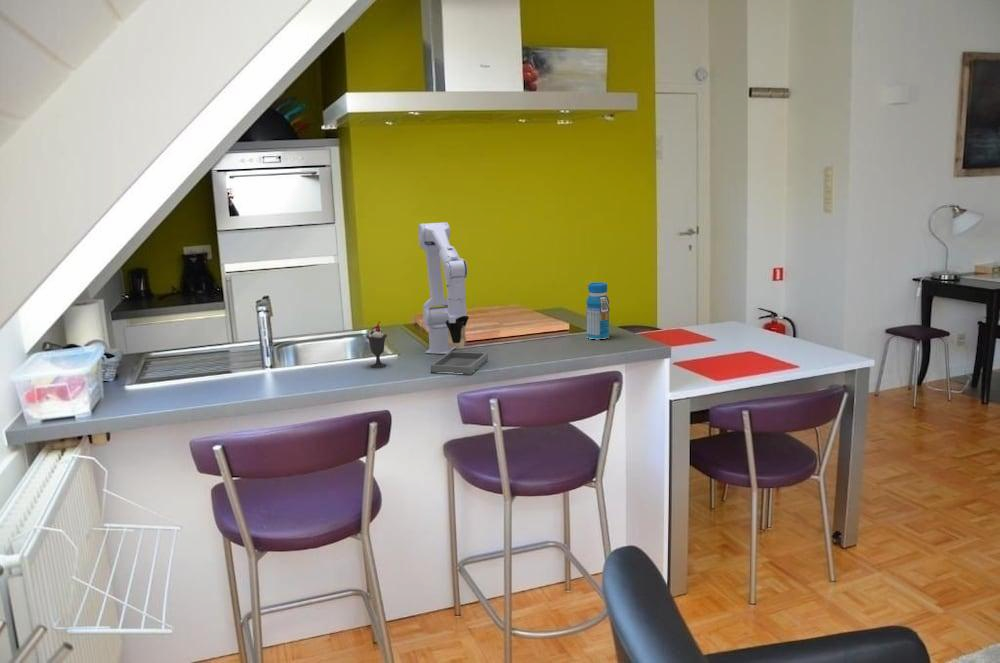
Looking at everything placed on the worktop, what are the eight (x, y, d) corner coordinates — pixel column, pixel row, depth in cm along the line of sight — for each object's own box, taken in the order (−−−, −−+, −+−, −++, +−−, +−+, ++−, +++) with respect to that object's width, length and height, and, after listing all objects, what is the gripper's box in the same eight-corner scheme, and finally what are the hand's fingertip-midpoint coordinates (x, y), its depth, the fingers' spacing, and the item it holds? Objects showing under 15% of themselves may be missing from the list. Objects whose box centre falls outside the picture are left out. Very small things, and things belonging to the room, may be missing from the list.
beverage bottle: (585, 340, 280) (585, 285, 276) (586, 335, 288) (586, 281, 284) (609, 340, 279) (609, 285, 275) (609, 335, 287) (609, 281, 283)
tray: (450, 358, 260) (450, 351, 260) (487, 360, 257) (487, 353, 256) (430, 373, 243) (430, 365, 243) (470, 375, 240) (470, 367, 239)
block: (452, 343, 251) (451, 325, 250) (465, 343, 250) (465, 325, 249) (448, 347, 247) (448, 328, 246) (462, 347, 246) (462, 328, 245)
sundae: (385, 368, 250) (382, 322, 247) (365, 368, 251) (362, 322, 248) (391, 363, 256) (389, 318, 253) (372, 363, 257) (369, 318, 254)
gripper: (449, 294, 253) (451, 335, 256) (438, 302, 239) (440, 345, 242) (470, 294, 252) (472, 335, 255) (460, 302, 238) (462, 346, 241)
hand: (458, 340), depth 248 cm, fingers closed on block, 4 cm apart
